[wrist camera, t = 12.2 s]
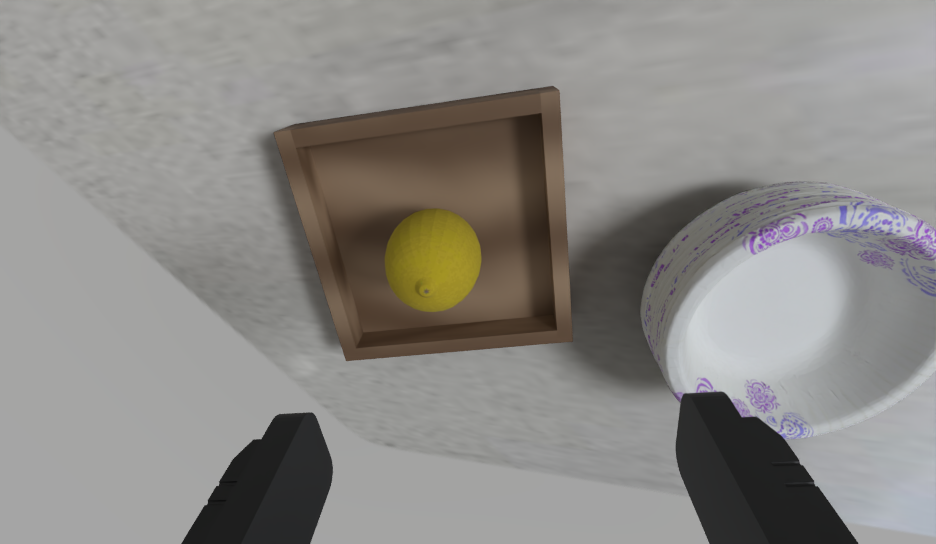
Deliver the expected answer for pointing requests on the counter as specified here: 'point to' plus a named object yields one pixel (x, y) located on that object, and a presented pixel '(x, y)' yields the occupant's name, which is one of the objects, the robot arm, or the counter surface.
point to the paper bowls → (797, 306)
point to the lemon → (432, 260)
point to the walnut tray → (445, 187)
